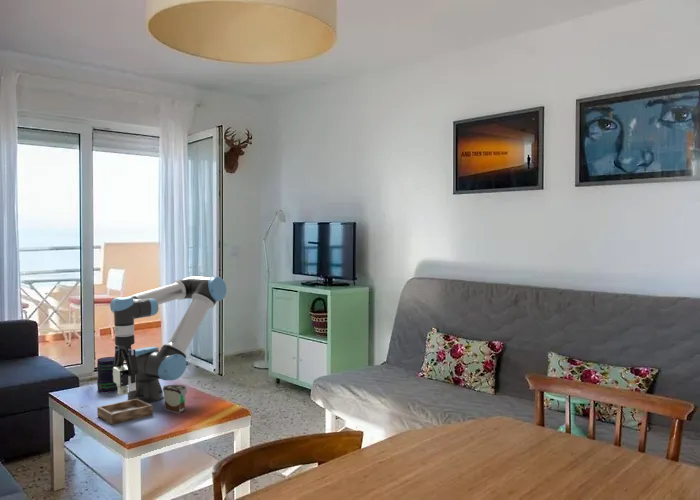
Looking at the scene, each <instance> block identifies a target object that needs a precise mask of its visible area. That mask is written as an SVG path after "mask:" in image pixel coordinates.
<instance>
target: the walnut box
mask: <svg viewBox="0 0 700 500" xmlns="http://www.w3.org/2000/svg"><path fill="white" fill-rule="evenodd" d="M153 406H154V405H153V404H150V403H149V402H144V401H142V400H139V399H133V400H128V399H127V400H124V401H120V402H115V403H111V404H105V405H99V406H97V409H96V410H97V414H96V416H98V417H97V418H99V417H100V418H99V419H101V420H102V419H103V421H104V420H105V421H104V422H106V423H108V424H110V425H117V424H120V423H125V422H128V421H133V420H137V419H141V418H142V419H143V418H145V417H150V416H153V415H154V413H153V412H154V411H153V410H154V409H153Z"/></svg>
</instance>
